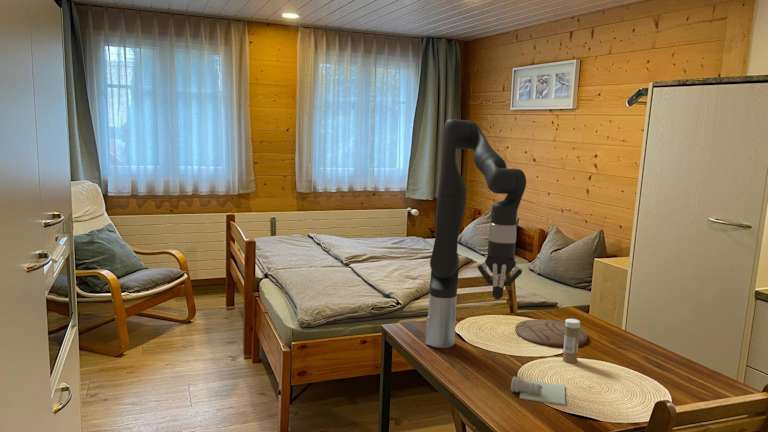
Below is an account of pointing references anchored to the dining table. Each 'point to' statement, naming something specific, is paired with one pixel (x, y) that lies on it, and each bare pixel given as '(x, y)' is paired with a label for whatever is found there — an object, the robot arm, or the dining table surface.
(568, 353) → the sprinkles bottle
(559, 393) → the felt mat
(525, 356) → the dining table surface
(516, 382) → the rook chess piece
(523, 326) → the trivet
